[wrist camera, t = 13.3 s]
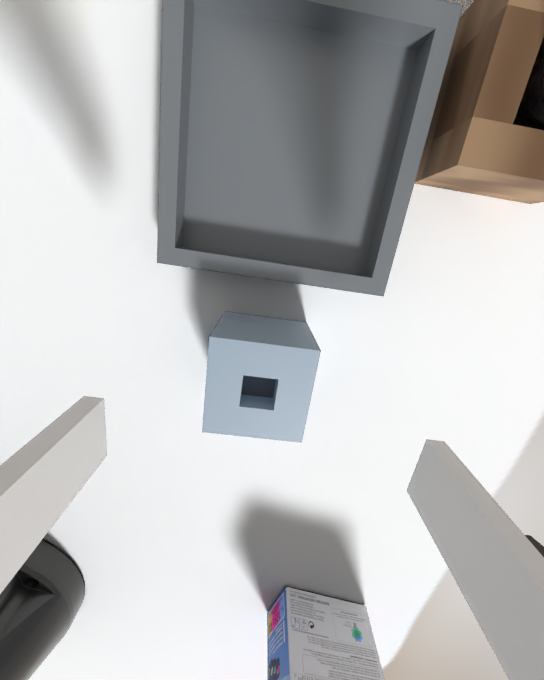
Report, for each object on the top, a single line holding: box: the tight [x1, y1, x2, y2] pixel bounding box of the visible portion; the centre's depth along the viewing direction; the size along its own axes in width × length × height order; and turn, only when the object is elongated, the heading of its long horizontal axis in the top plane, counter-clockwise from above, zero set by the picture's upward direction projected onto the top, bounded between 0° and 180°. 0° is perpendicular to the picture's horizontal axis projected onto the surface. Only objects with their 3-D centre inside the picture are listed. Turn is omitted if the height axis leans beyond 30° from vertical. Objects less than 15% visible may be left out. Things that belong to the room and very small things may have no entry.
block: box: [202, 311, 321, 443], centre depth 19 cm, size 6×6×6 cm
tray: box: [157, 0, 463, 296], centre depth 17 cm, size 14×14×2 cm
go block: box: [414, 0, 544, 204], centre depth 15 cm, size 8×8×4 cm
